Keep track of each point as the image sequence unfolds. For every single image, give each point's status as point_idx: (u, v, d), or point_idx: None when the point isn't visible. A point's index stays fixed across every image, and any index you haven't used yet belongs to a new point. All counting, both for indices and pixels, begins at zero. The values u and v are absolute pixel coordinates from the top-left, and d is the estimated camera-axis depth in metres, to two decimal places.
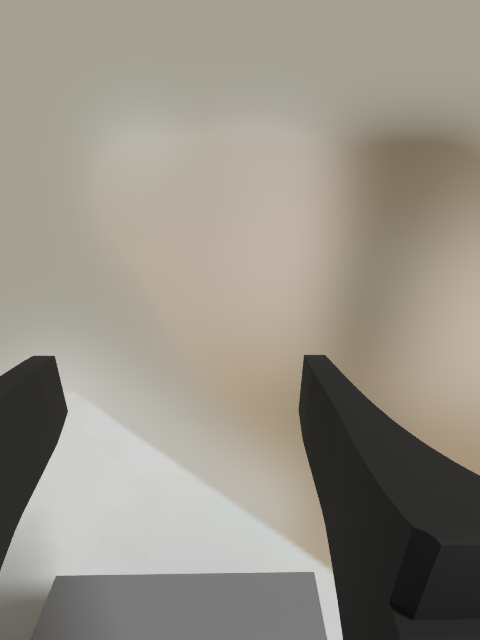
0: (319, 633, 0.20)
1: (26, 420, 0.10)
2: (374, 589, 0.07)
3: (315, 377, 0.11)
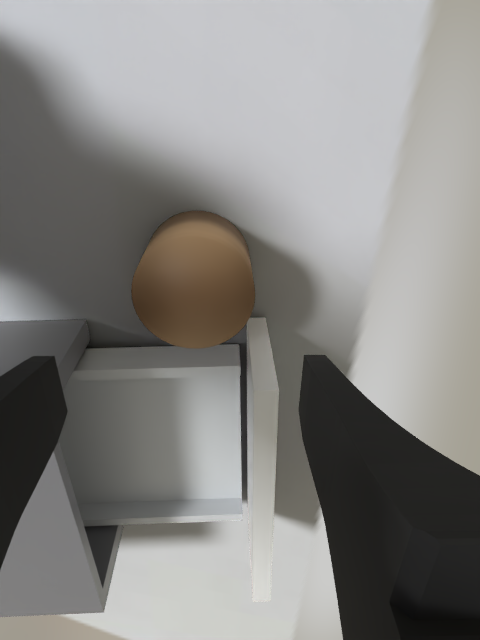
0: None
1: (26, 420, 0.10)
2: (374, 589, 0.07)
3: (315, 377, 0.11)
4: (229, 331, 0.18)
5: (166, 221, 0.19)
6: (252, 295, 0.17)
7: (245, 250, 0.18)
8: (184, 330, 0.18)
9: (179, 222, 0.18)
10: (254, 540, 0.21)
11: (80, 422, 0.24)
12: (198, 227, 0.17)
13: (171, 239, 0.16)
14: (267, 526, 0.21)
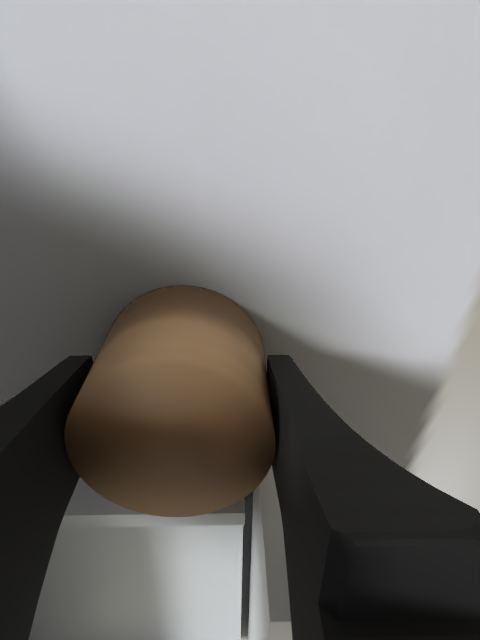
0: None
1: None
2: (309, 590, 0.07)
3: (274, 377, 0.11)
4: (230, 495, 0.11)
5: (135, 303, 0.12)
6: (271, 448, 0.10)
7: (259, 358, 0.11)
8: (156, 494, 0.11)
9: (153, 315, 0.11)
10: None
11: None
12: (183, 330, 0.10)
13: (132, 364, 0.09)
14: None
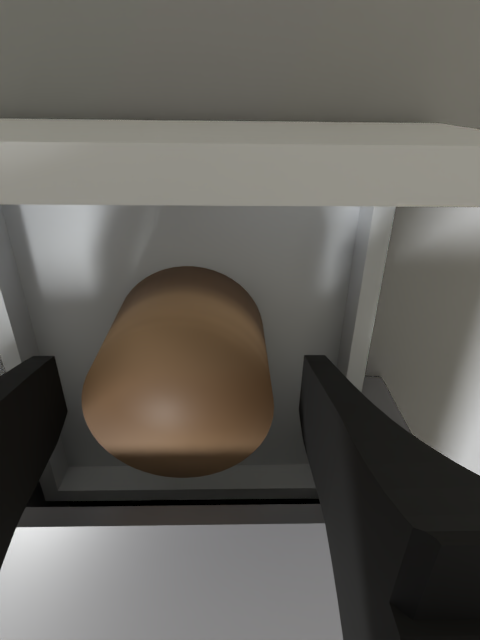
0: None
1: (26, 420, 0.10)
2: (374, 589, 0.07)
3: (315, 377, 0.11)
4: (235, 455, 0.12)
5: (141, 284, 0.13)
6: (269, 407, 0.11)
7: (257, 328, 0.12)
8: (167, 455, 0.12)
9: (156, 291, 0.12)
10: (260, 201, 0.07)
11: None
12: (184, 302, 0.11)
13: (138, 331, 0.10)
14: (196, 162, 0.07)
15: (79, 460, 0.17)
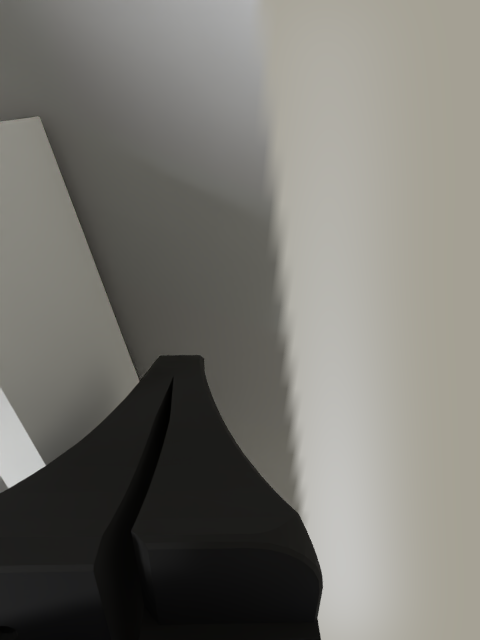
0: None
1: None
2: None
3: (173, 378, 0.10)
4: None
5: None
6: None
7: None
8: None
9: None
10: None
11: None
12: None
13: None
14: None
15: None
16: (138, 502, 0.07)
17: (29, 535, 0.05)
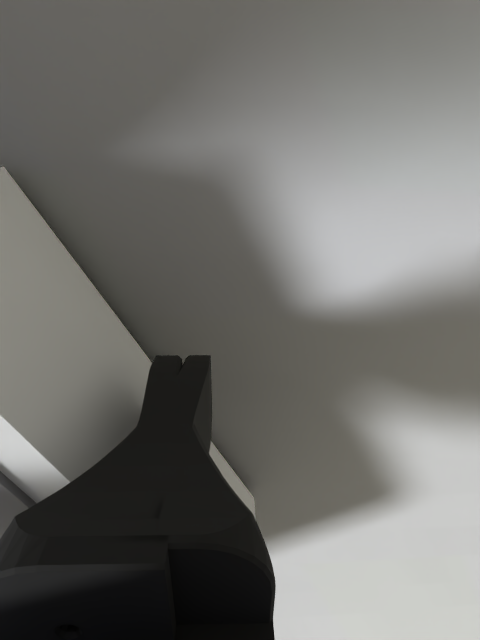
0: None
1: (204, 418, 0.10)
2: None
3: (148, 378, 0.10)
4: None
5: None
6: None
7: None
8: None
9: None
10: None
11: None
12: None
13: None
14: None
15: None
16: None
17: (95, 534, 0.05)
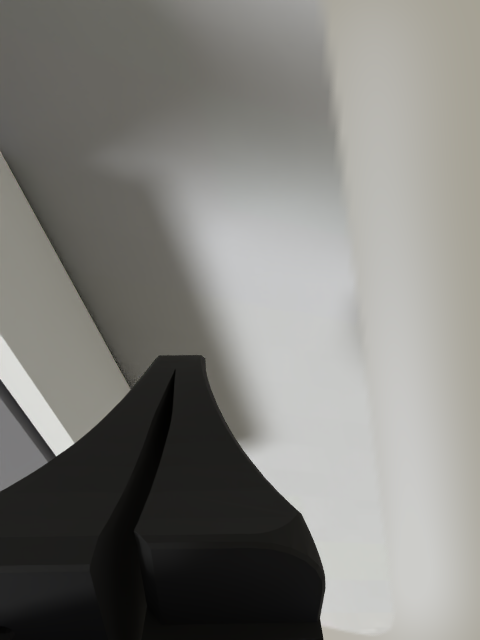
0: None
1: (169, 419, 0.10)
2: None
3: (175, 378, 0.10)
4: None
5: None
6: None
7: None
8: None
9: None
10: (41, 433, 0.16)
11: None
12: None
13: None
14: (41, 407, 0.15)
15: None
16: (135, 502, 0.07)
17: (24, 535, 0.05)
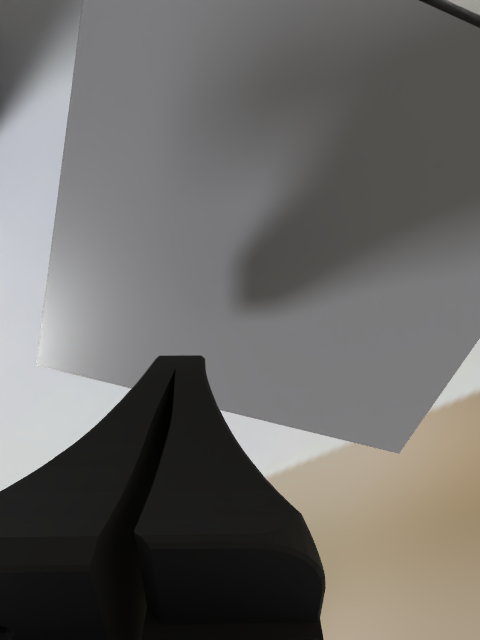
0: (335, 432, 0.17)
1: (169, 419, 0.10)
2: None
3: (175, 377, 0.10)
4: None
5: None
6: None
7: None
8: None
9: None
10: (476, 9, 0.11)
11: None
12: None
13: None
14: None
15: None
16: (135, 502, 0.07)
17: (24, 535, 0.05)
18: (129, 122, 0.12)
